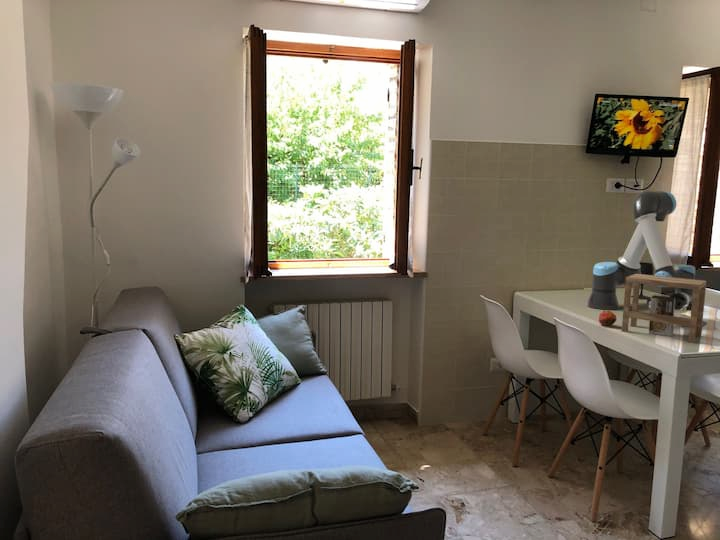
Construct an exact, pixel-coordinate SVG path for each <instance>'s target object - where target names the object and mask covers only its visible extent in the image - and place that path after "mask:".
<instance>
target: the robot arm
mask: <svg viewBox="0 0 720 540" xmlns="http://www.w3.org/2000/svg"><path fill="white" fill-rule="evenodd" d="M676 208H677V200H676V197H675V196H674V194H673V193H672V192H669V191H666V190H659V191H658V190H657V191H655V190H653V191H652V190H647V191H646V190H645V191H642V192H640V193H638V194H637V195H636V196H635V198H634V199H633V202H632V215H633V218H634V220H635V222H636V223H638V224H637V226H636V228H635V230H634V232H633V235H632V236H631V239H630V241H629V243H628V244H627V247H626V248H625V251H624V253H623V255H622V256H619V257H618V258H617V261H616V262H613V261H602V262H597V263H596V264H594V266H593V270H592V285H591V286H592V288H591V293H590V296H589V298H588V300H587V307H589V308H592V309H598V310H604V311H610V310H611V311H612V310H617V309H619V305H620V304H619V299H618V297H617V287H625V284H626V277H629V276H631V275H634V274H641V273H640V271H641V270H640V267H641V266H640V264H639V262H641V260H642V258H643V256H644V254H645V252H646V250H648V253H649V256H650V259H651V262H652V264H653V268H654V270H655V272H656V273H655V274H653V275H654V276H664V277H674V278H684V279H694V280H696V279H695V278H696V267H695V265H694V266H693V265H691V264H679V265H677V269H675V268H674V266H673V263H672V260H671V258H670V255H669V252H668V250H667V247H666V244H665V240H664V238H663V235H662V232H661V229H660V227H659V224H660V223H663V222H665V220H666V217H667V216H669V215H671V214H673V213H674V212H675V210H676ZM632 285H634V283H632ZM658 287H660V288H667V287H666V286H658ZM669 297H676V298H675V310H677V311H678V310H681V309H682V312H681V313H684V314H685V313H687V312H688V311H689V312H691V307H692V297H693V289H684V288H675V292H674V293H672V294H670V295H669ZM646 305H648V309H650V308H651V299H646Z"/></svg>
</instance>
